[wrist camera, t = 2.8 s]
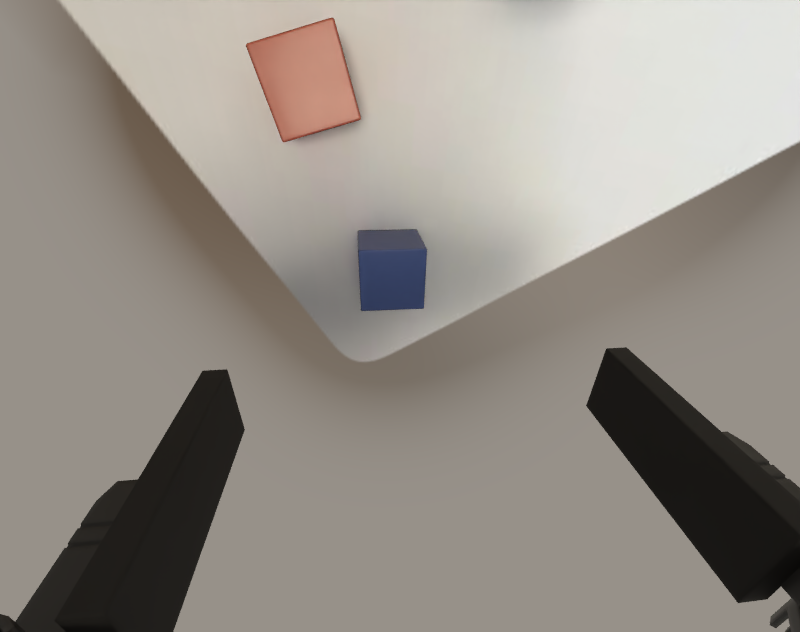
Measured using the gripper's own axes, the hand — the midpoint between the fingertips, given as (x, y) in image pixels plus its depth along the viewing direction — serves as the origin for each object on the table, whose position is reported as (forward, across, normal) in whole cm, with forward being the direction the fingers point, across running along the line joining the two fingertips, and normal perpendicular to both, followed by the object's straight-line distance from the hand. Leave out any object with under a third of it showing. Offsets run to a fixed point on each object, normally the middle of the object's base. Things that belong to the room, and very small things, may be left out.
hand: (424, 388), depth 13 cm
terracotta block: (+14, -4, +10) cm, 18 cm away
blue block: (+14, 0, 0) cm, 14 cm away
